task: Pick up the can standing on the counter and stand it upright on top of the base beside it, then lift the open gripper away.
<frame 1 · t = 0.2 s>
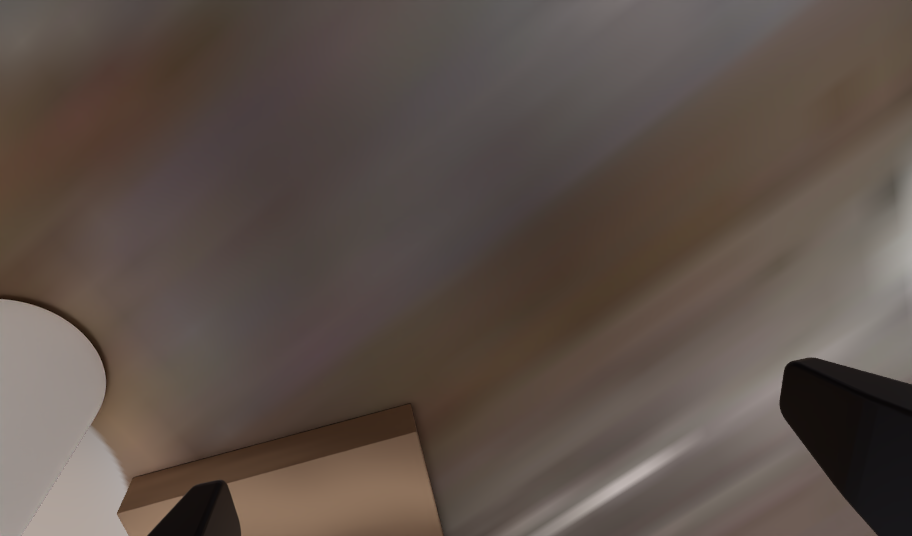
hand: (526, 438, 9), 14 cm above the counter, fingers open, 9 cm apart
can: (18, 368, 22), on the counter
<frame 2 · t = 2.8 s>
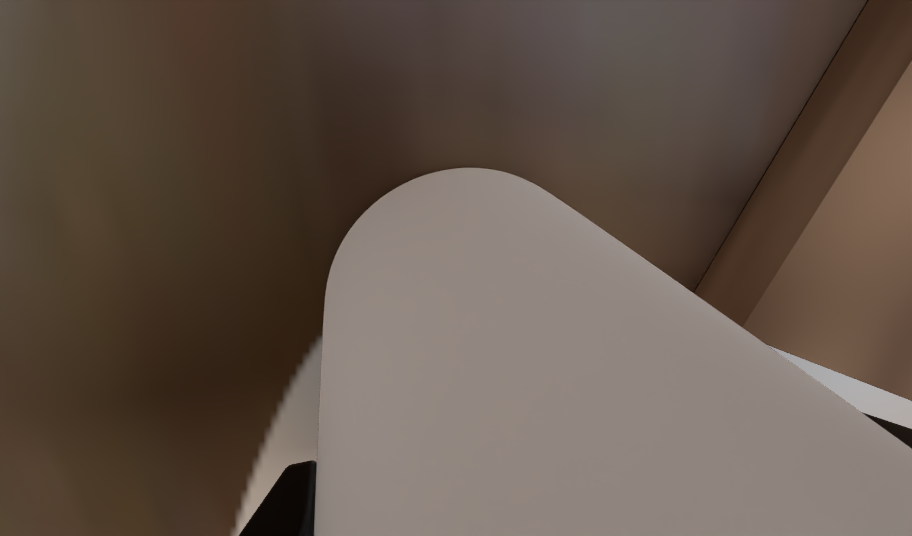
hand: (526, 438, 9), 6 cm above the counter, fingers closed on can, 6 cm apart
can: (458, 291, 14), on the counter, touching gripper
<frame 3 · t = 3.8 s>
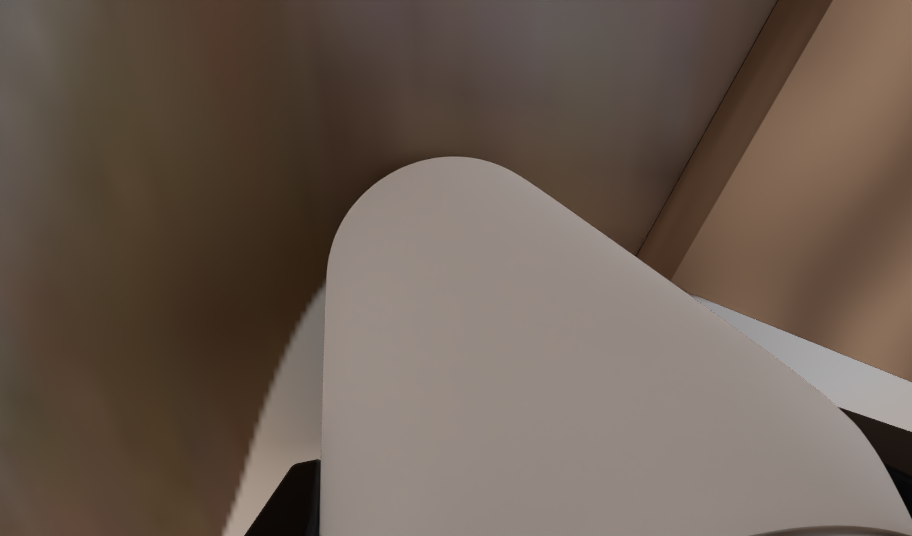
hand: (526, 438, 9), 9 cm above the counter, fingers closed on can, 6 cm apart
base: (872, 156, 18), on the counter
can: (445, 268, 16), point 1 cm above the counter, touching gripper
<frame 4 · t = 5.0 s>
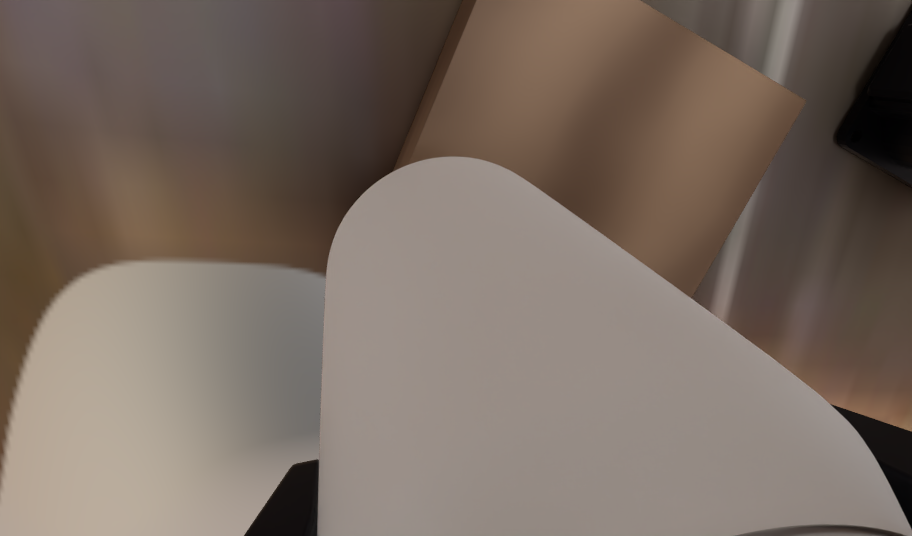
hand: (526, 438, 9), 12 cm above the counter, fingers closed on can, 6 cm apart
base: (562, 184, 21), on the counter
can: (445, 267, 16), point 5 cm above the counter, touching gripper
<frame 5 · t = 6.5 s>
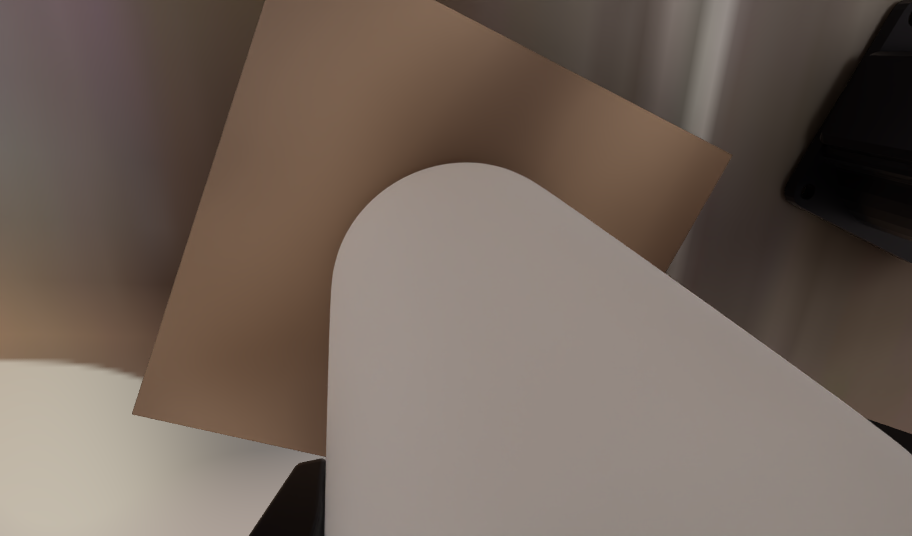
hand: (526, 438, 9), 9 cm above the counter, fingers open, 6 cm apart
base: (428, 255, 17), on the counter
can: (456, 278, 15), point 2 cm above the counter, touching base, gripper
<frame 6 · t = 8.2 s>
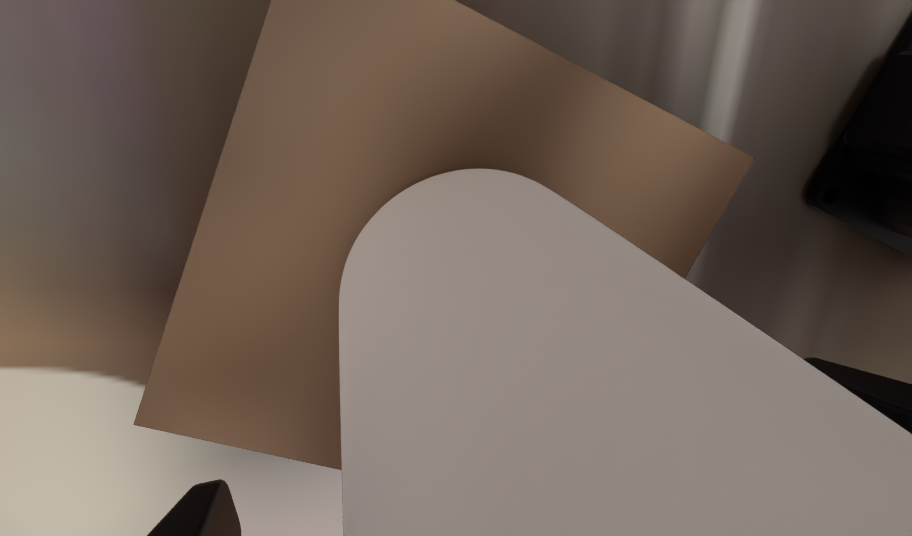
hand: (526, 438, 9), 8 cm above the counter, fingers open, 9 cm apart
base: (438, 260, 16), on the counter
can: (466, 287, 15), point 2 cm above the counter, touching base
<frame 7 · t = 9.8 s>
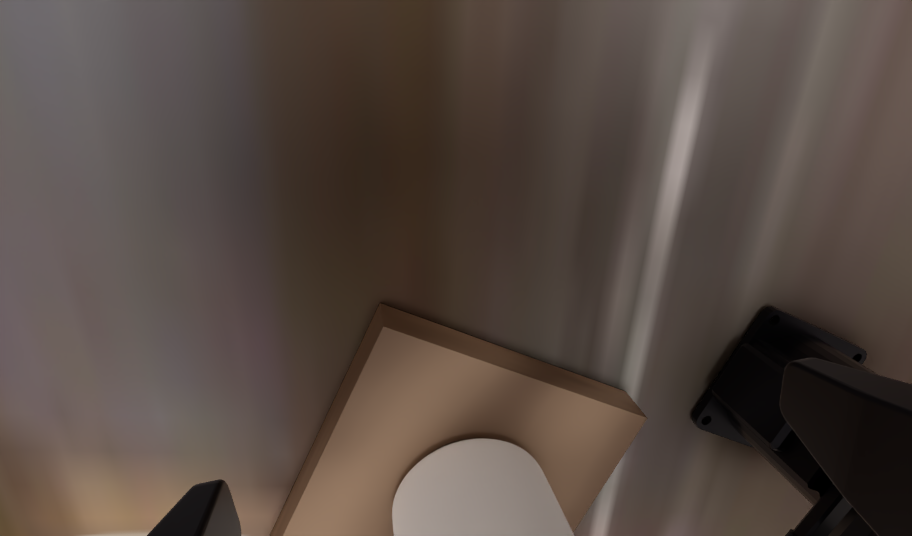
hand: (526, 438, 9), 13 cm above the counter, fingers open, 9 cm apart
base: (450, 462, 25), on the counter
can: (467, 492, 24), point 2 cm above the counter, touching base
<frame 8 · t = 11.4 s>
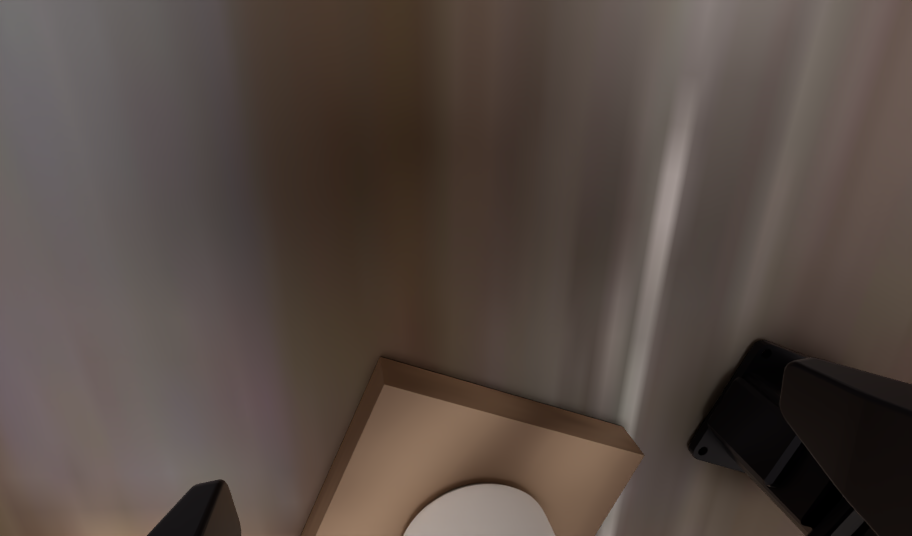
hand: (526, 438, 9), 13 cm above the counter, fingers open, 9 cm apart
base: (454, 502, 26), on the counter
can: (471, 533, 25), point 2 cm above the counter, touching base
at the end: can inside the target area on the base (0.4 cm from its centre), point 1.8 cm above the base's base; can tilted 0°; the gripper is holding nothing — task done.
